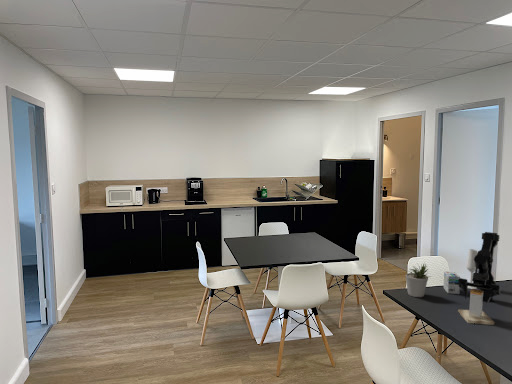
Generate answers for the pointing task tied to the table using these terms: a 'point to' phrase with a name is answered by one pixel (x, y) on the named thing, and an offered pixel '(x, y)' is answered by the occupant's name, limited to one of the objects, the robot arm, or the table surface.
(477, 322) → the birch board
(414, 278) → the potted plant
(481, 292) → the aluminium block
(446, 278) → the light bulb box
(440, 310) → the table surface
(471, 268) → the champagne flute
